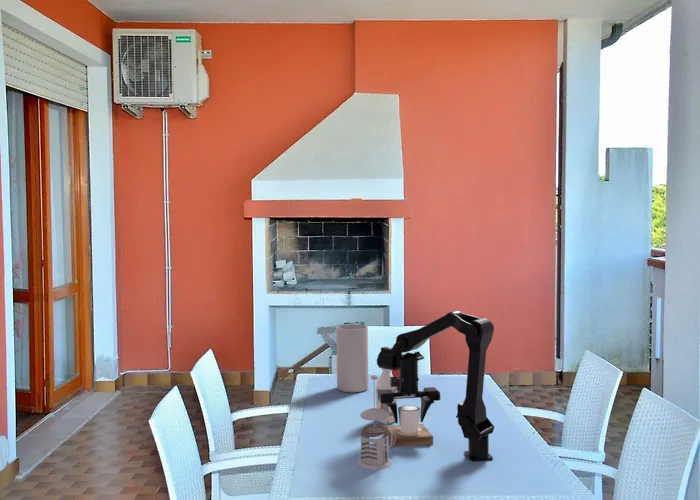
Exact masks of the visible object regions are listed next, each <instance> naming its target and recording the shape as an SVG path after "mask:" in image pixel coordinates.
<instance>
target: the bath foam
mask: <svg viewBox="0 0 700 500" xmlns="http://www.w3.org/2000/svg"><path fill="white" fill-rule="evenodd" d="M390 377H393V375H392V371H391V370H388V369H382V368H381V374H380V375H379V377H378V378H377V381H376V388H375V390H376V391H375V393H376V394H375V397H376V399H375V403H376V404H375V408H378V409H381V410H384V411H386V412H387V413H388V414H389V416H388V418H386V419H383V420H377V421H376V422H378V423H381V424H384V423H386V424H387V422H390V423H391V424H393V422H394V423H395V420H394V417H393V414H392V411H391V408H390V406H387V405H386V403H385V404H382V403H380V401H379V400H378V391H379V390H391V391H392V393H398V391H397V390H396V387H391V386H390ZM395 403H396V404H397V405H398V399H395ZM390 423H389V424H390Z"/></svg>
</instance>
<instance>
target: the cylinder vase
mask: <svg viewBox="0 0 700 500" xmlns="http://www.w3.org/2000/svg"><path fill="white" fill-rule="evenodd" d="M335 329H336V330H335V331H336V338H335V339H336V389H337V390H338V391H340V392H343V393H361V392H364V391H365V392H366V391H367V390H368V388H369V326H368V325H366V324H360V323H359V324H358V323H348V324H339V325H337V326H336V327H335Z"/></svg>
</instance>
